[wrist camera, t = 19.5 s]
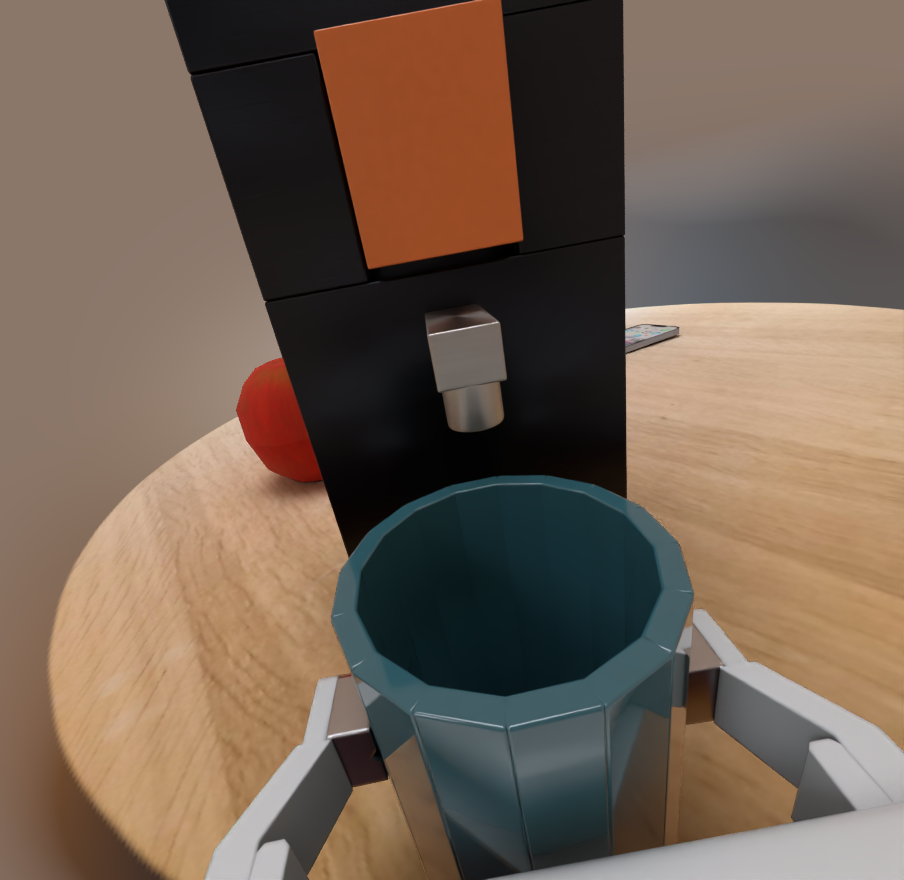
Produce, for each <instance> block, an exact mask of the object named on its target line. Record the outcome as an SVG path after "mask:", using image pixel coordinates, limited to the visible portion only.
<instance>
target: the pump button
mask: <svg viewBox="0 0 904 880" xmlns="http://www.w3.org/2000/svg"><path fill="white" fill-rule="evenodd" d="M314 37H315V42H316V46H317V50H318V55H319V59H320V63H321V68H322V72H323V76H324V81H325V85H326V89H327V94H328V98H329V102H330V107H331V111H332V115H333V120H334V124H335V128H336V133H337V137H338V141H339V146H340V150H341V154H342V158H343V163H344V167H345V171H346V176H347V180H348V184H349V189H350V193H351V197H352V202H353V206H354V210H355V215H356V219H357V223H358V228H359V232H360V236H361V241H362V245H363V249H364V254H365V258H366V262H367V267H368V269H374V268H380V267H385V266H391V265H396V264H401V263H407V262H412V261H418V260H423V259H428V258H434V257H439V256H444V255H450V254H455V253H461V252H466V251H471V250H477V249H482V248H488V247H493V246H498V245H504V244H509V243H514V242H520V241H523V229H522V218H521V207H520V197H519V186H518V176H517V165H516V154H515V144H514V133H513V122H512V112H511V101H510V90H509V80H508V69H507V58H506V48H505V37H504V26H503V16H502V5H501V0H475V1H470V2H464V3H459V4H454V5H448V6H443V7H438V8H432V9H427V10H422V11H416V12H411V13H405V14H400V15H395V16H389V17H384V18H379V19H373V20H368V21H363V22H357V23H352V24H346V25H341V26H336V27H330V28H325V29H320V30H315V31H314Z"/></svg>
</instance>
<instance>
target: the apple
mask: <svg viewBox="0 0 904 880" xmlns="http://www.w3.org/2000/svg"><path fill="white" fill-rule="evenodd" d="M236 411H237V415H238V417H239V420H240V423H241V426H242V429H243V432H244V435H245V438H246V441H247V442H248V443H249V445H250V446H251V447H252V449H253V450H254V451H255V453H256V454H257V455H258V457H259V458H260V459H261V461H262V462H263V463H264V464H265V466H266V467H267V468H268V469H269V470H271V471H273V472H275V473H277V474H279V475H282V476H285V477H288V478H290V479H293V480H296V481H301V482H312V481H319V480H323V479H322V476H321V472H320V469H319V466H318V463H317V460H316V457H315V454H314V451H313V448H312V445H311V442H310V439H309V436H308V433H307V430H306V427H305V424H304V421H303V418H302V415H301V412H300V409H299V406H298V403H297V400H296V397H295V394H294V391H293V388H292V385H291V382H290V379H289V376H288V373H287V370H286V367H285V364H284V361H283V358H279V359H275V360H272V361H269V362H267V363H265V364H263V365H261V366H259V367H257V368H255V370H254V371H253V372H252V374H251V375H250V376H249V378H248V379H247V380H246V382H245V383H244V385H243V387H242V391H241V395H240V398H239V402H238V405H237V409H236Z"/></svg>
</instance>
